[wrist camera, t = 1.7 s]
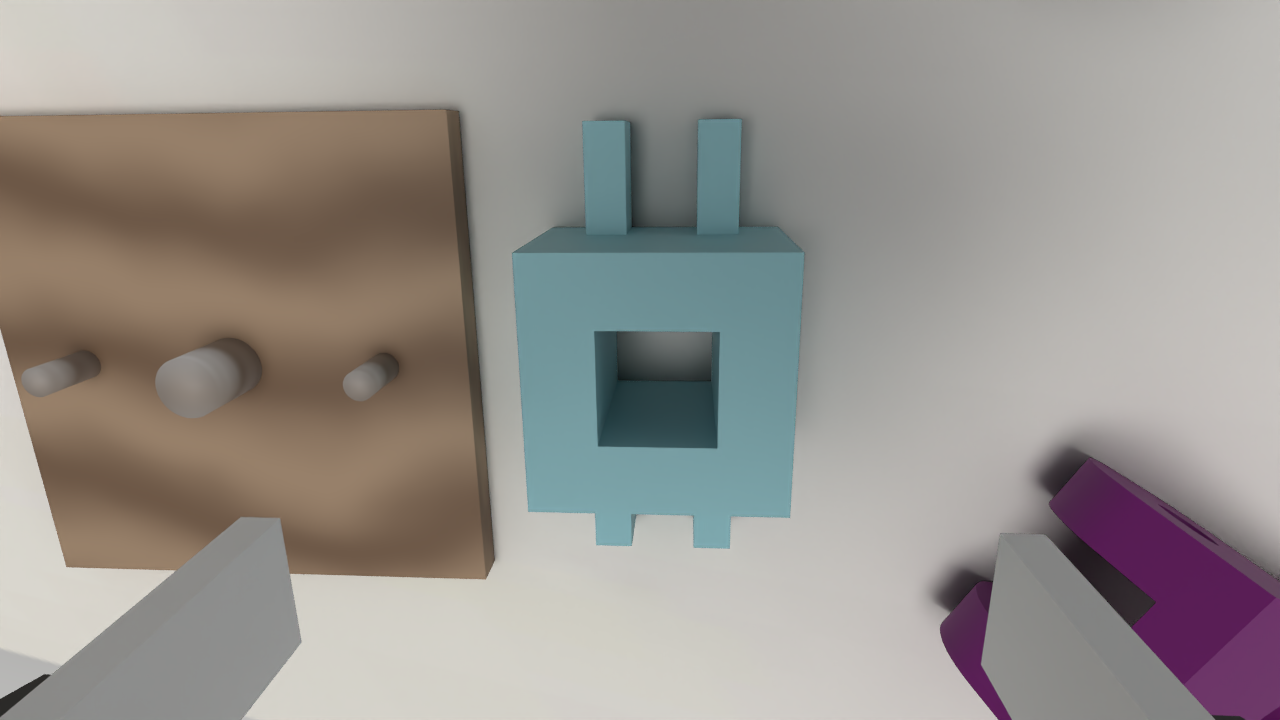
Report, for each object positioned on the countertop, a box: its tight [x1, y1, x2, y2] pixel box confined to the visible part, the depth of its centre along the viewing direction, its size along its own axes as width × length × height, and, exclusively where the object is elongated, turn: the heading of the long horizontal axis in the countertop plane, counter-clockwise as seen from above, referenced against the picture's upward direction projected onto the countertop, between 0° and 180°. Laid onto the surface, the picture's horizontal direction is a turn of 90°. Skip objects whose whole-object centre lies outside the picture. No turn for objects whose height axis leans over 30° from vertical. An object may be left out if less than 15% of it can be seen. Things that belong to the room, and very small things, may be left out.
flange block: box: [512, 119, 805, 549], centre depth 27 cm, size 17×9×7 cm, turn 1°
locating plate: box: [0, 110, 495, 579], centre depth 29 cm, size 20×20×4 cm
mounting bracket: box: [940, 458, 1280, 720], centre depth 31 cm, size 9×8×18 cm
